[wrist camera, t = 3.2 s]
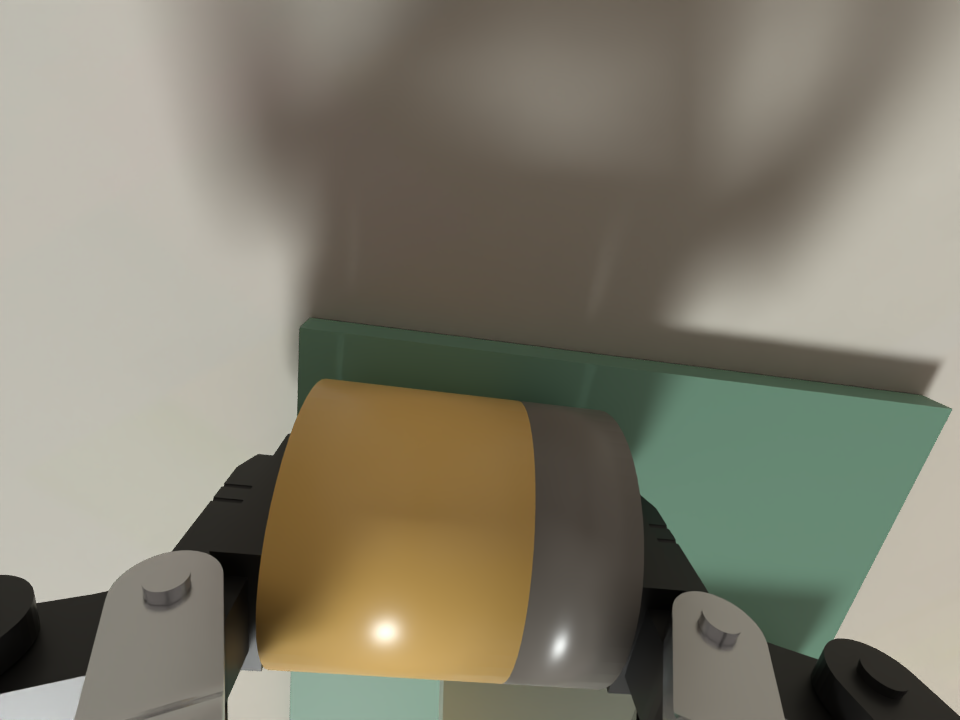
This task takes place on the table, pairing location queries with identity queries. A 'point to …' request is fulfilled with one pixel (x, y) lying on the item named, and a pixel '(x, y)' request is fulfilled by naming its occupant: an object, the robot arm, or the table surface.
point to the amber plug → (451, 540)
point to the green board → (674, 474)
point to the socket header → (529, 702)
